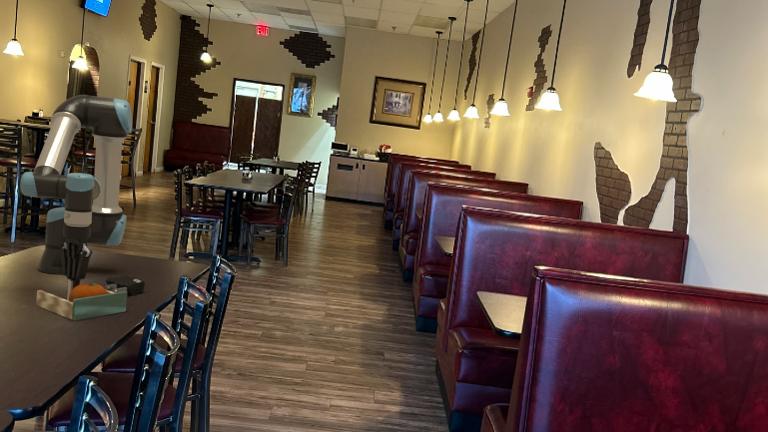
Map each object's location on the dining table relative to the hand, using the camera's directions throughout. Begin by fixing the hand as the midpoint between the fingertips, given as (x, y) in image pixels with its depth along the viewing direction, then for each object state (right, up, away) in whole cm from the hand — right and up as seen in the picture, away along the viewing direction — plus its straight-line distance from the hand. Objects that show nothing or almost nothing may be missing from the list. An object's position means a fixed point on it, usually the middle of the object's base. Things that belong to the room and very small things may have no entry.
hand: (72, 299), depth 199 cm
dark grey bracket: (+11, -2, +6) cm, 12 cm away
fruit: (+7, -3, -4) cm, 8 cm away
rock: (+8, 0, +19) cm, 21 cm away
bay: (+4, -2, -3) cm, 5 cm away
